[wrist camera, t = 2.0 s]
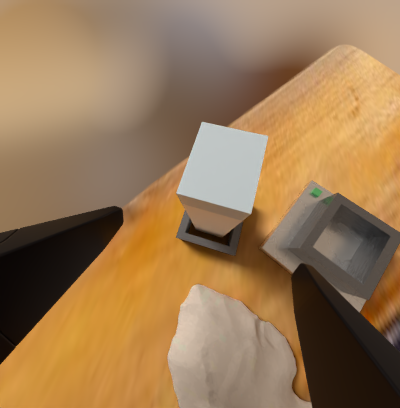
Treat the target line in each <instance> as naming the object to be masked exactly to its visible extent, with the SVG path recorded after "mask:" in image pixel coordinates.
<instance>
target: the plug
mask: <svg viewBox="0 0 400 408" xmlns="http://www.w3.org/2000/svg"><path fill="white" fill-rule="evenodd" d="M267 140H268V136H266V135H261V134H256V133H251V132H247V131H242V130H237V129H233V128H228V127H223V126H218V125H214V124H209V123H205V122H202V124H201V126H200V129H199V132H198V135H197V138H196V140H195V143H194V146H193V149H192V151H191V154H190V157H189V160H188V162H187V165H186V168H185V171H184V173H183V176H182V179H181V182H180V184H179V187H178V190H177V193H176V194H177V195H178V197H179V199H180V201H181V203H182V205H183V206H184V208H185V210H186V212H187V214H188V216H189V217H190V219H191V221H192V223H193V225H194V227H195V228H196V230H198V231H201V232H204V233H208V234H211V235H214V236H218V237H221V238H222V237H223V236H224V235H226V234H227V233H228V232H229V231H231V230H232V229H233V228H234V227H236V226H237V225H238V224H239V223H241V222H242V221H243V220H244V219H245V218H247V217H248V216H249V215H250V214H251V212H252V208H253V203H254V199H255V194H256V190H257V185H258V181H259V176H260V172H261V167H262V162H263V158H264V153H265V149H266V144H267Z"/></svg>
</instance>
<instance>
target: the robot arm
mask: <svg viewBox="0 0 400 408" xmlns="http://www.w3.org/2000/svg"><path fill="white" fill-rule="evenodd" d="M123 221H124V220H123V210H122V208H119V207H117V206H112V207H107V208H103V209H99V210H95V211H91V212H86V213H82V214H78V215H74V216H69V217H65V218H61V219H57V220H53V221H48V222H44V223H40V224H36V225H32V226H27V227H23V228H20V229H15V230H10V231H6V232H2V233H0V364H1V363H2V362H3V361H4V360H5V359H6V358H7V357H8V355H9V354H10V353H11V352H12V351H13V350H14V349H15V348H16V346H17V345H18V344H19V343H20V342H21V341H22V340H23V339H24V337H25V336H26V335H27V334H28V333H29V332H30V331H31V330H32V329H33V328H34V326H35V325H36V324H37V323H38V322H39V321H40V320H41V319H42V318H43V316H44V315H45V314H46V313H47V312H48V311H49V310H50V309H51V308H52V306H53V305H54V304H55V303H56V302H57V301H58V300H59V299H60V298H61V296H62V295H63V294H64V293H65V292H66V291H67V290H68V289H69V288H70V287H71V285H72V284H73V283H74V282H75V281H76V280H77V279H78V278H79V277H80V275H81V274H82V273H83V272H84V271H85V270H86V269H87V268H88V267H89V265H90V264H91V263H92V262H93V261H94V260H95V259H96V258H97V257H98V255H99V254H100V253H101V252H102V251H103V250H104V249H105V247H106V246H107V245H108V244H109V242H110V241H111V239H112V238H113V237H114V235H115V234H116V233H117V231H118V230H119V229H120V227H121V226H122V224H123ZM291 281H292V293H293V305H294V314H295V320H296V325H297V330H298V335H299V341H300V346H301V351H302V356H303V362H304V367H305V372H306V377H307V383H308V388H309V393H310V398H311V404H312V408H400V352H399V351H398V350H397V349H396V348H395V347H394V346H393V345H392V344H391V343H390V342H389V341H388V340H387V339H386V338H385V337H384V336H383V335H382V334H381V333H380V332H379V331H378V330H377V329H376V328H375V327H374V326H373V325H372V324H371V323H370V322H369V321H368V320H367V319H366V318H365V317H364V316H363V315H362V314H360V313H359V312H358V311H357V310H356V309H355V308H354V307H353V306H352V305H351V304H350V303H349V302H348V301H347V300H346V299H345V298H344V297H343V296H342V295H341V294H340V293H339V292H338V291H337V290H336V289H335V288H334V287H333V286H332V285H331V284H330V283H329V282H328V281H327V280H326V279H325V278H324V277H323V276H322V275H321V274H320V273H319V272H318V271H317V270H316V269H315V268H314V267H313V266H311V265H308V264H305V263H300V264H299V266H298V267H297V268H296V270H295V271H294V272H293V274H292V277H291Z"/></svg>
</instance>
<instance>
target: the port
mask: <svg viewBox="0 0 400 408" xmlns="http://www.w3.org/2000/svg"><path fill="white" fill-rule="evenodd" d="M399 243H400V232H398V231H397V230H395V229H394V228H392V227H391V226H389V225H387V224H386V223H384V222H383V221H381V220H380V219H378V218H376V217H375V216H373V215H372V214H370V213H369V212H367V211H366V210H364V209H362V208H361V207H359V206H358V205H356V204H355V203H353V202H351V201H350V200H348V199H347V198H345V197H344V196H342V195H341V194H339V193H336V194H332V193H331V192H329V191H328V190H326V189H325V188H323V187H321V186H320V185H318V184H317V183H315V182H314V181H310V182H309V183H307V184H306V185H305V187H304V188H303V189H302V191H301V192H300V193H299V195H298V196H297V198H296V199H295V200H294V202H293V203H292V204H291V206H290V207H289V208H288V210H287V211H286V212H285V214H284V215H283V216H282V218H281V219H280V220H279V222H278V223H277V224H276V226H275V227H274V228H273V230H272V231H271V232H270V234H269V235H268V236H267V238H266V239H265V240H264V242H263V243H262V245H261V246H260V247H259V248H260V249H261V250H262V251H263V252H264V253H266V254H267V255H268V256H269V257H271V258H272V259H273V260H274V261H276V262H277V263H278V264H279V265H280V266H282V267H283V268H284V269H285V270H287V271H288V272H289V273H290V274H293V272H294V271H295V270H296V268H297V267H298V266H299V264H300V263H305V264H308V265H311V266H313V267H314V268H315V269H316V270H317V271H318V272H319V273H320V274H321V275H322V276H323V277H324V278H325V279H326V280H327V281H328V282H329V283H330V284H331V285H332V286H333V287H334V288H335V289H336V290H337V291H338V292H339V293H340V294H341V295H342V296H343V297H344V298H345V299H346V300H347V301H348V302H349V303H350V304H351V305H352V306H353V307H354V308H355V309H356V310H357V311H358V312H359V313H360V311H361V309H362V307H363V305H364V303H365V302H366V300H369V299H370V297H371V295H372V293H373V292H374V290H375V288H376V286H377V284H378V282H379V280H380V279H381V277H382V275H383V273H384V271H385V269H386V268H387V266H388V264H389V262H390V260H391V258H392V256H393V255H394V253H395V251H396V249H397V247H398V245H399Z"/></svg>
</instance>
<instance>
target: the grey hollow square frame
mask: <svg viewBox="0 0 400 408" xmlns="http://www.w3.org/2000/svg"><path fill="white" fill-rule="evenodd" d="M191 223H192V221H191V219H190V217H189V216H188V214H187V212H186V210H185V212H184V215H183V218H182V221H181V224H180V227H179V230H178V233H177V236H176V238H179V239H182V240H185V241H188V242H191V243H195V244H198V245H201V246H204V247H207V248H211V249H214V250H217V251H220V252H223V253H227V254H230V255H234V256H235V255H236V250H237V246H238V242H239V237H240V233H241V229H242V224H243V221H242V222H241V223H239V224H238V225H237V226H236V227H234V228H233V229H232V230H231V231H230V235H229V240H228V244H227V245H224V244H220V243H217V242H214V241H211V240H207V239H204V238H201V237H198V236H194V235H191V234H188V233H189V229H190V226H191Z"/></svg>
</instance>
